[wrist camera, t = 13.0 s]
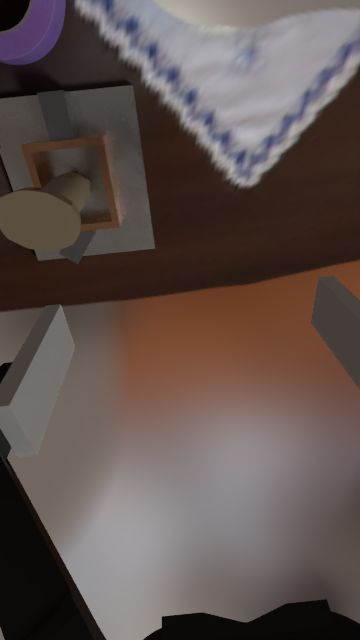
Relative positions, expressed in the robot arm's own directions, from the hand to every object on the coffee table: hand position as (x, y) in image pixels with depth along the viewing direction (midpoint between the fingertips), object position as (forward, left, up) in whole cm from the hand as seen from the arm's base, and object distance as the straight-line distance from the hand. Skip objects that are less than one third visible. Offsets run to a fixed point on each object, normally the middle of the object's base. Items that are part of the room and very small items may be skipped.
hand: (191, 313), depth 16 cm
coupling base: (-3, -11, -29) cm, 31 cm away
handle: (-3, -11, -28) cm, 30 cm away
